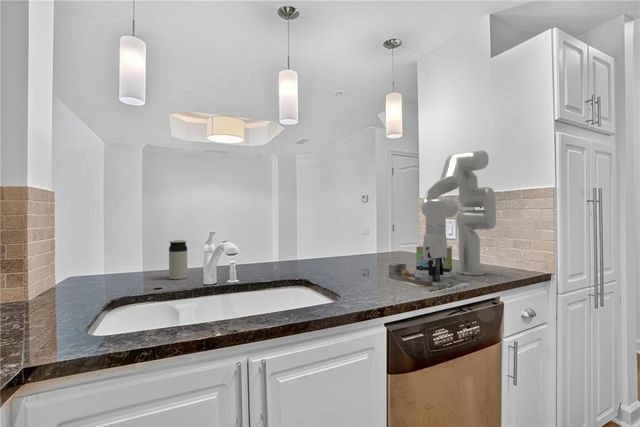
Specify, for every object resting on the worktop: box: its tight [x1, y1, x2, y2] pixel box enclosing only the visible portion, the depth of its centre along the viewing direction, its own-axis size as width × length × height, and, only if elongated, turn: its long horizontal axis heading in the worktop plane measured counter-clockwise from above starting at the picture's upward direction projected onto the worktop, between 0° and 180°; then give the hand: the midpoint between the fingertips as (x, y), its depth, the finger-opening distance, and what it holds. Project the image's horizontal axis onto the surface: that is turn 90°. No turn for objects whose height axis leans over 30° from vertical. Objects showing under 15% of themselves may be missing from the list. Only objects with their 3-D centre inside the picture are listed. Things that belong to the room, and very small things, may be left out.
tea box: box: [415, 244, 453, 278], centre depth 152 cm, size 15×10×15 cm
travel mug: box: [168, 239, 188, 280], centre depth 153 cm, size 8×8×18 cm
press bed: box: [383, 262, 454, 293], centre depth 137 cm, size 14×26×7 cm, turn 34°
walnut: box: [401, 269, 410, 278], centre depth 142 cm, size 4×4×4 cm
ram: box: [414, 258, 449, 288], centre depth 131 cm, size 7×12×12 cm, turn 34°
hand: (435, 274), depth 129 cm, fingers open, 3 cm apart
